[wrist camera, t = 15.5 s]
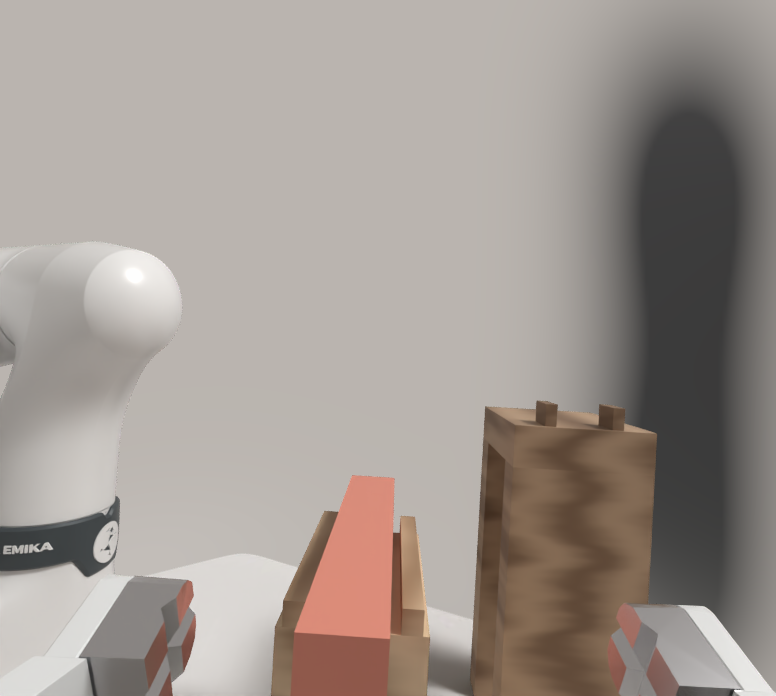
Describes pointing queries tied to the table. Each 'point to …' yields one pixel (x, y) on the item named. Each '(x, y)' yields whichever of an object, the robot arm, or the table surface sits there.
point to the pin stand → (558, 547)
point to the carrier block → (405, 612)
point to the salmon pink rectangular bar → (350, 600)
